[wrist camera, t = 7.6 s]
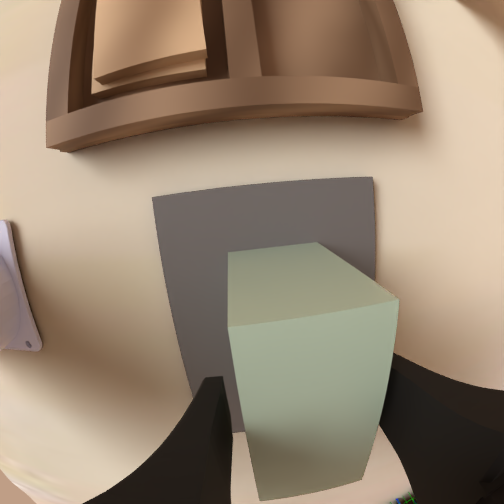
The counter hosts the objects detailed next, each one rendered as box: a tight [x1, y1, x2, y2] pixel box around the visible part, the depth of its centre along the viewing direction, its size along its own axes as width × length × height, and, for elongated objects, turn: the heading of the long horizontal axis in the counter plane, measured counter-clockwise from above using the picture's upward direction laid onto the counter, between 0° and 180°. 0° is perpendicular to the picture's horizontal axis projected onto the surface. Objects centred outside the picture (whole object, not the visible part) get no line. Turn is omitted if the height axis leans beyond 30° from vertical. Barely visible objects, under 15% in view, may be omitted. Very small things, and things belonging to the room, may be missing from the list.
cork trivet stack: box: [91, 0, 208, 99], centre depth 9 cm, size 5×9×2 cm, turn 6°
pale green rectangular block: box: [228, 242, 399, 501], centre depth 10 cm, size 4×8×7 cm, turn 6°
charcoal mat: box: [152, 177, 375, 433], centre depth 14 cm, size 10×14×1 cm
